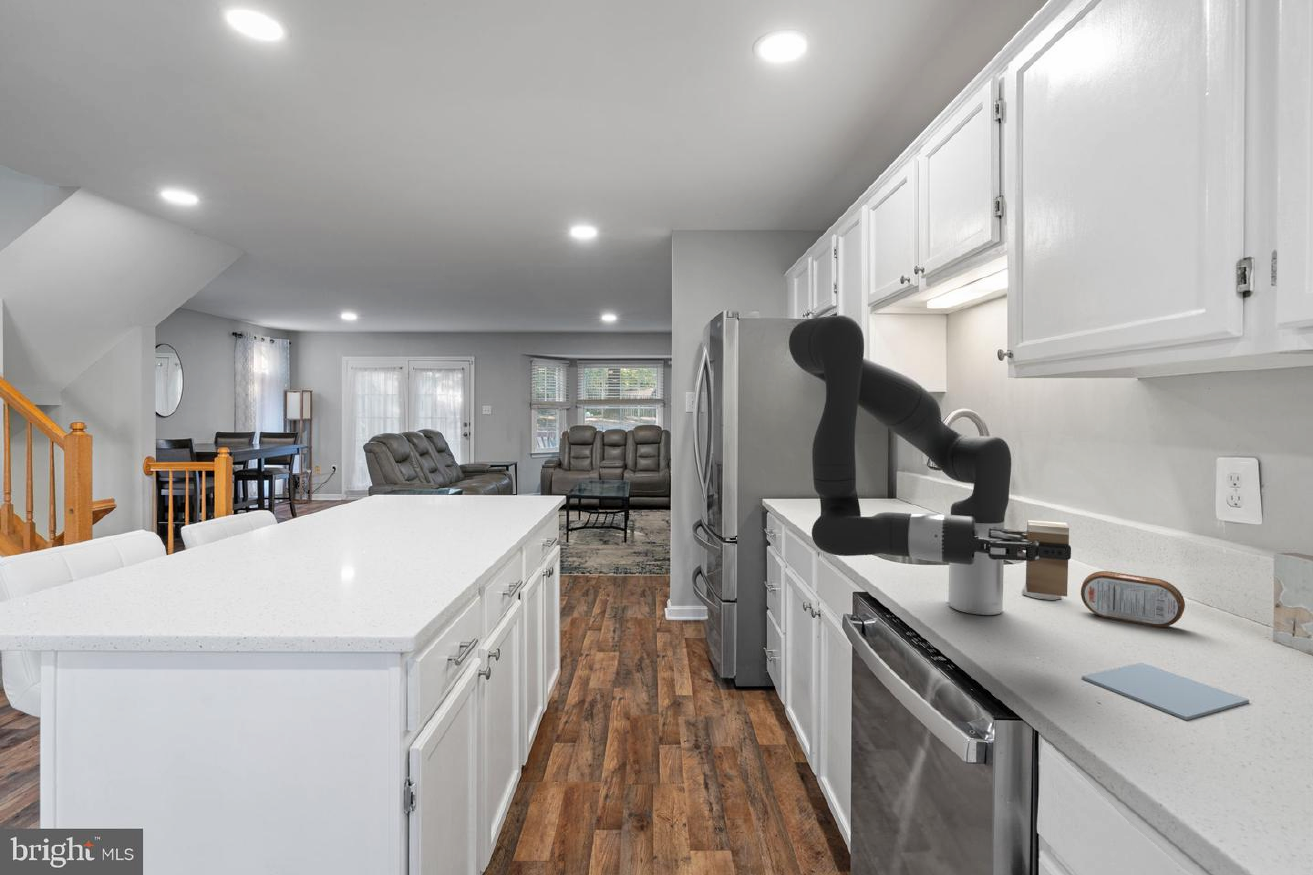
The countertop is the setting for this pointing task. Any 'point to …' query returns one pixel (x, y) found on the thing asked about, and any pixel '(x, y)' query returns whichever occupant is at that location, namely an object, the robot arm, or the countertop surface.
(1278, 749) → the countertop surface
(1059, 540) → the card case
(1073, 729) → the countertop surface
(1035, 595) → the flask
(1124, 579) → the tin
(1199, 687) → the mat
